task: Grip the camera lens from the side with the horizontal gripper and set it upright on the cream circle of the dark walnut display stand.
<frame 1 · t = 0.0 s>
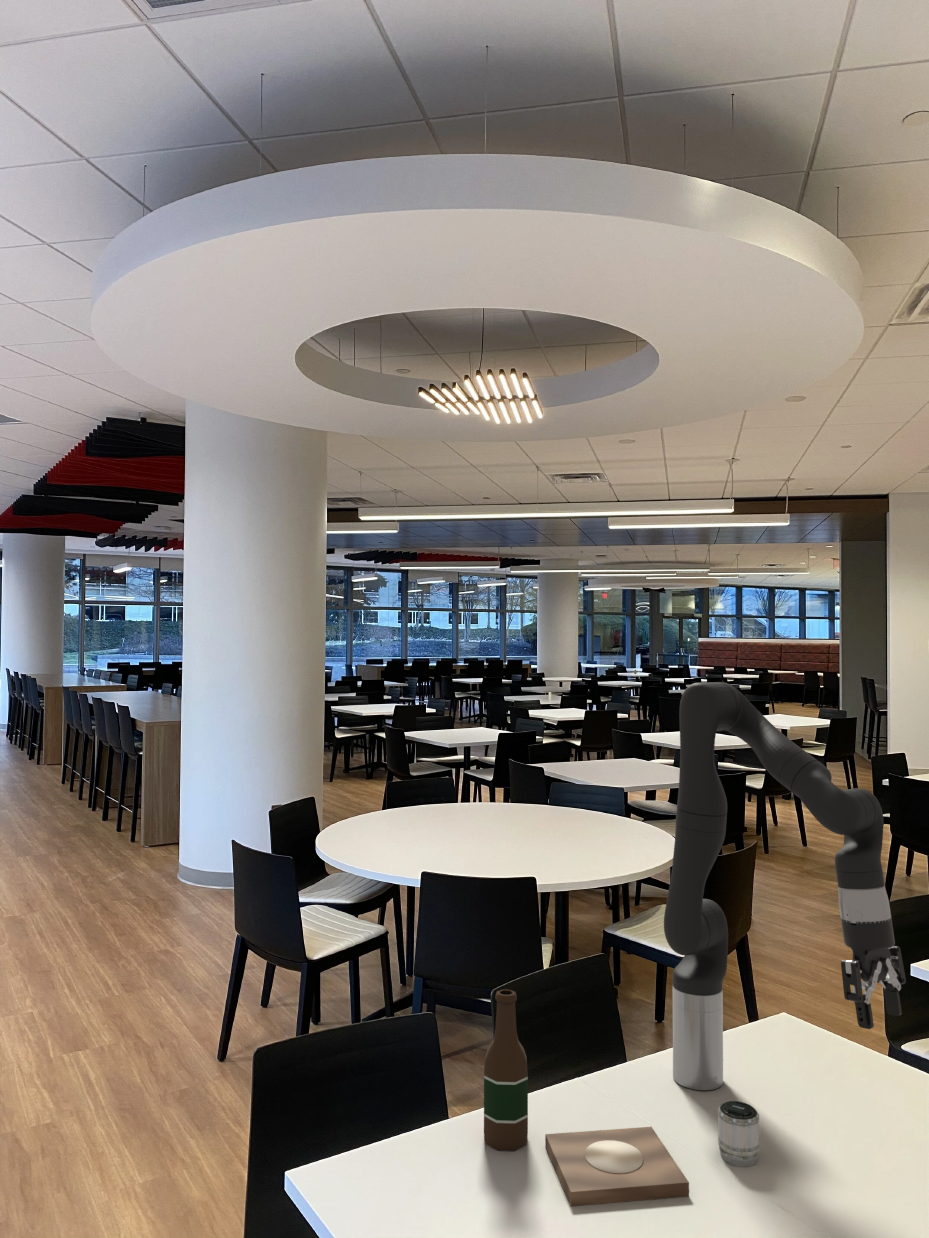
hand: (880, 1021, 142), 22 cm above the table, tool pointing down, fingers open, 8 cm apart
camera lens: (738, 1158, 144), on the table
display stand: (613, 1170, 140), on the table
beer bottle: (505, 1140, 148), on the table
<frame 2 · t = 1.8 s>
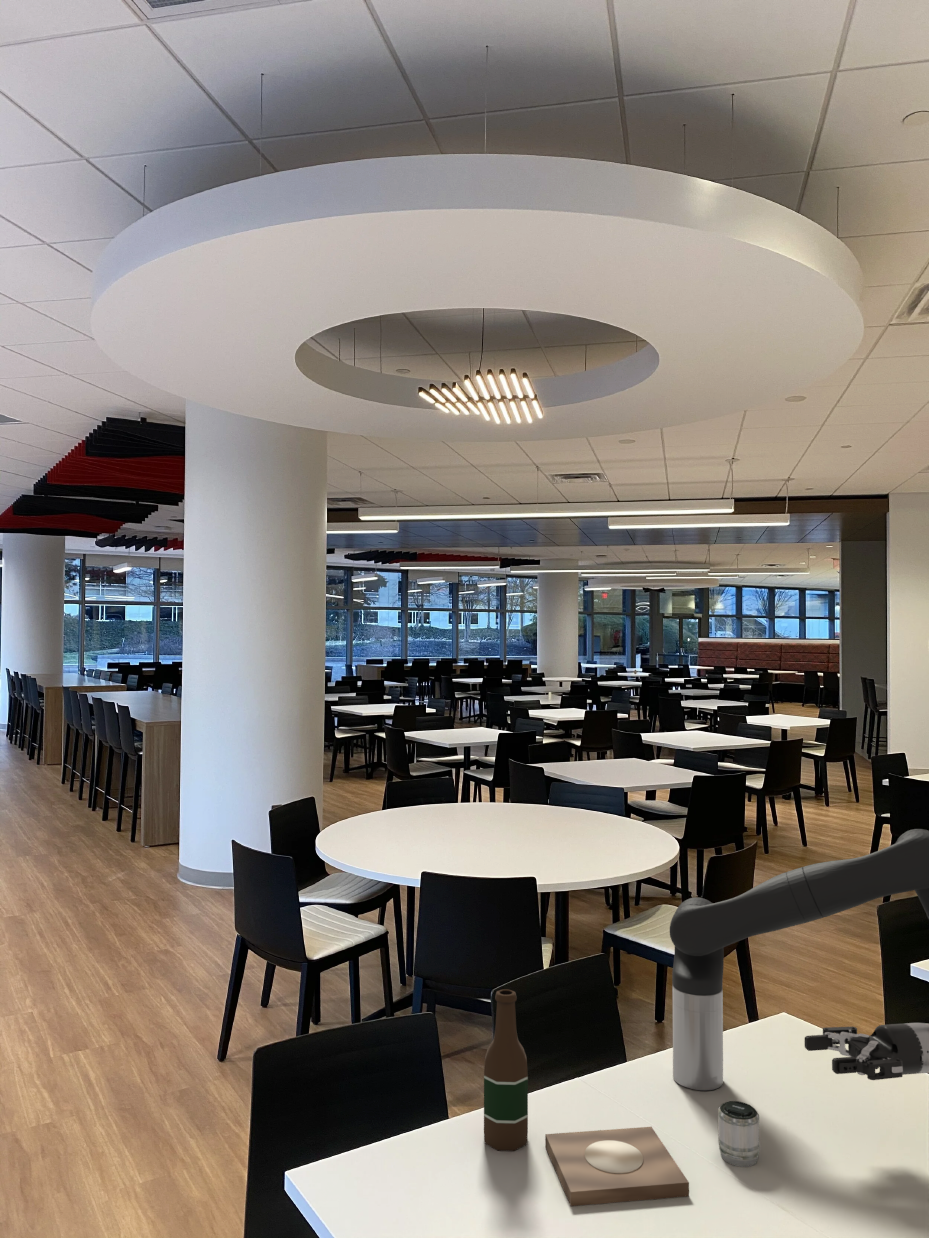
hand: (819, 1054, 146), 15 cm above the table, tool horizontal, fingers open, 8 cm apart
nothing on the table moved.
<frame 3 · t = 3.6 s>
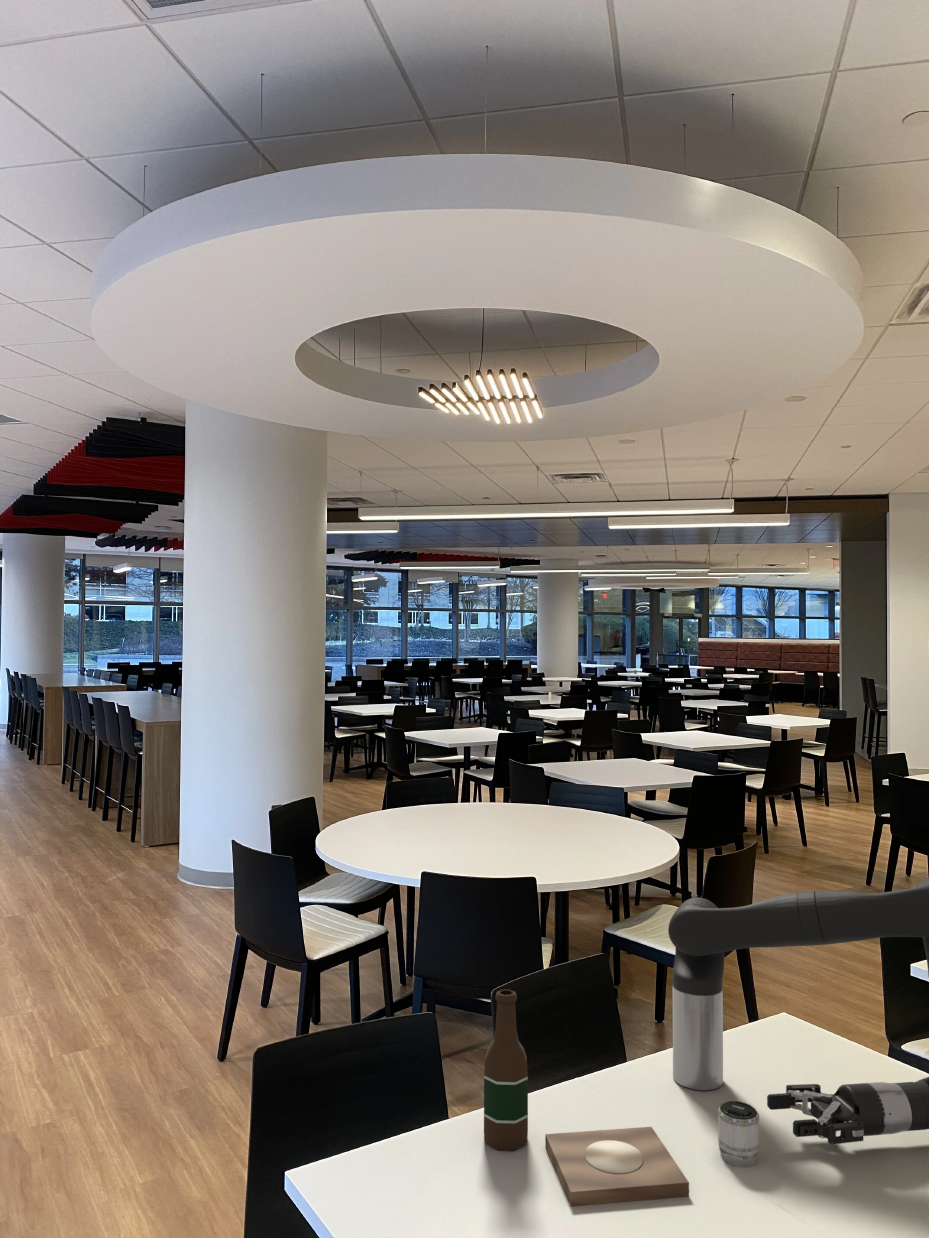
hand: (780, 1115, 145), 6 cm above the table, tool horizontal, fingers open, 8 cm apart
nothing on the table moved.
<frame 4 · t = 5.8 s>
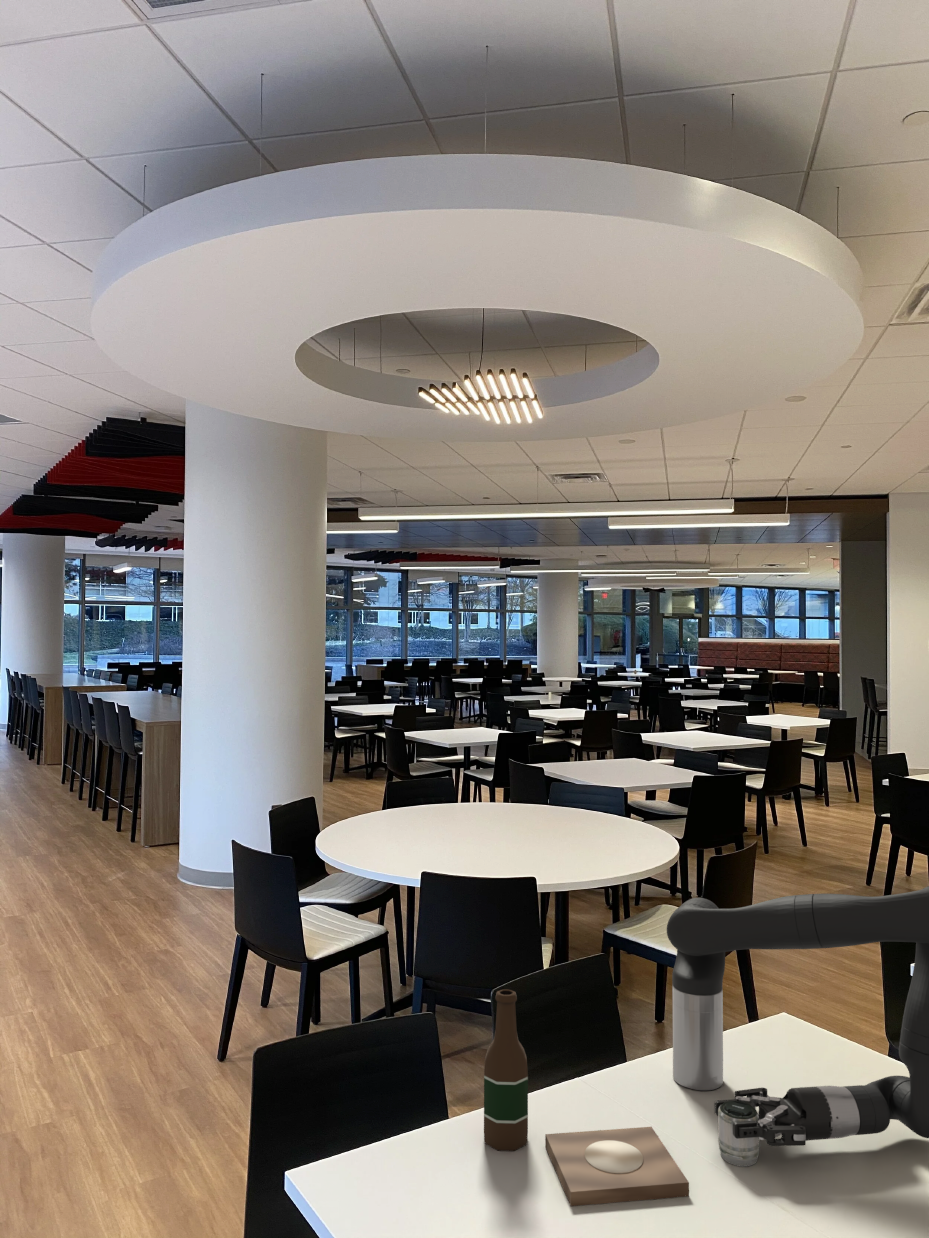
hand: (724, 1119, 144), 6 cm above the table, tool horizontal, fingers closed on camera lens, 6 cm apart
camera lens: (738, 1158, 144), on the table, touching gripper
everything else where it was.
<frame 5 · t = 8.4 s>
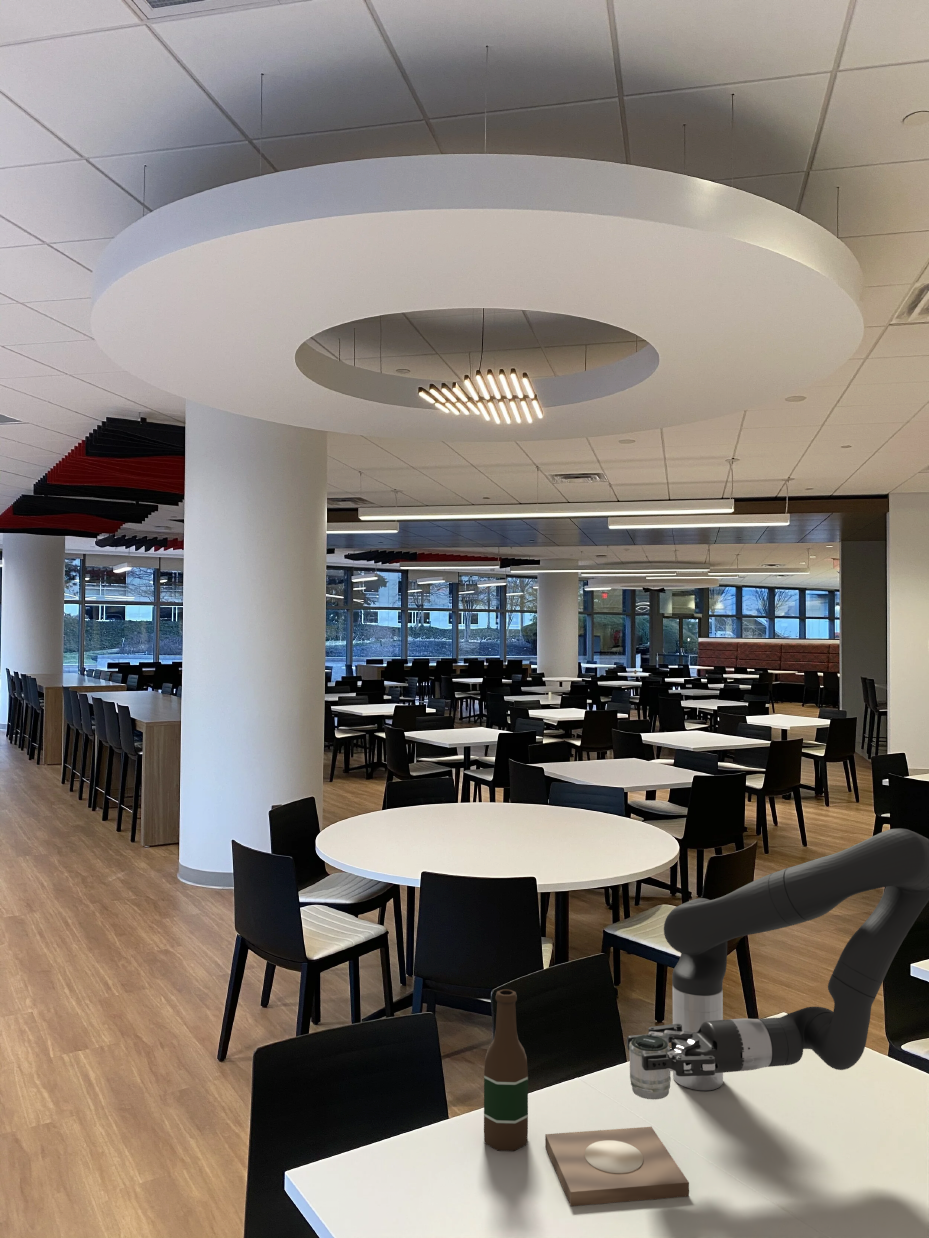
hand: (635, 1052, 141), 18 cm above the table, tool horizontal, fingers closed on camera lens, 6 cm apart
camera lens: (650, 1092, 141), point 12 cm above the table, touching gripper
everything else where it was.
when the fingers open (9 cm above the table, at t = 11.0 s): camera lens drops 1 cm, resting on display stand.
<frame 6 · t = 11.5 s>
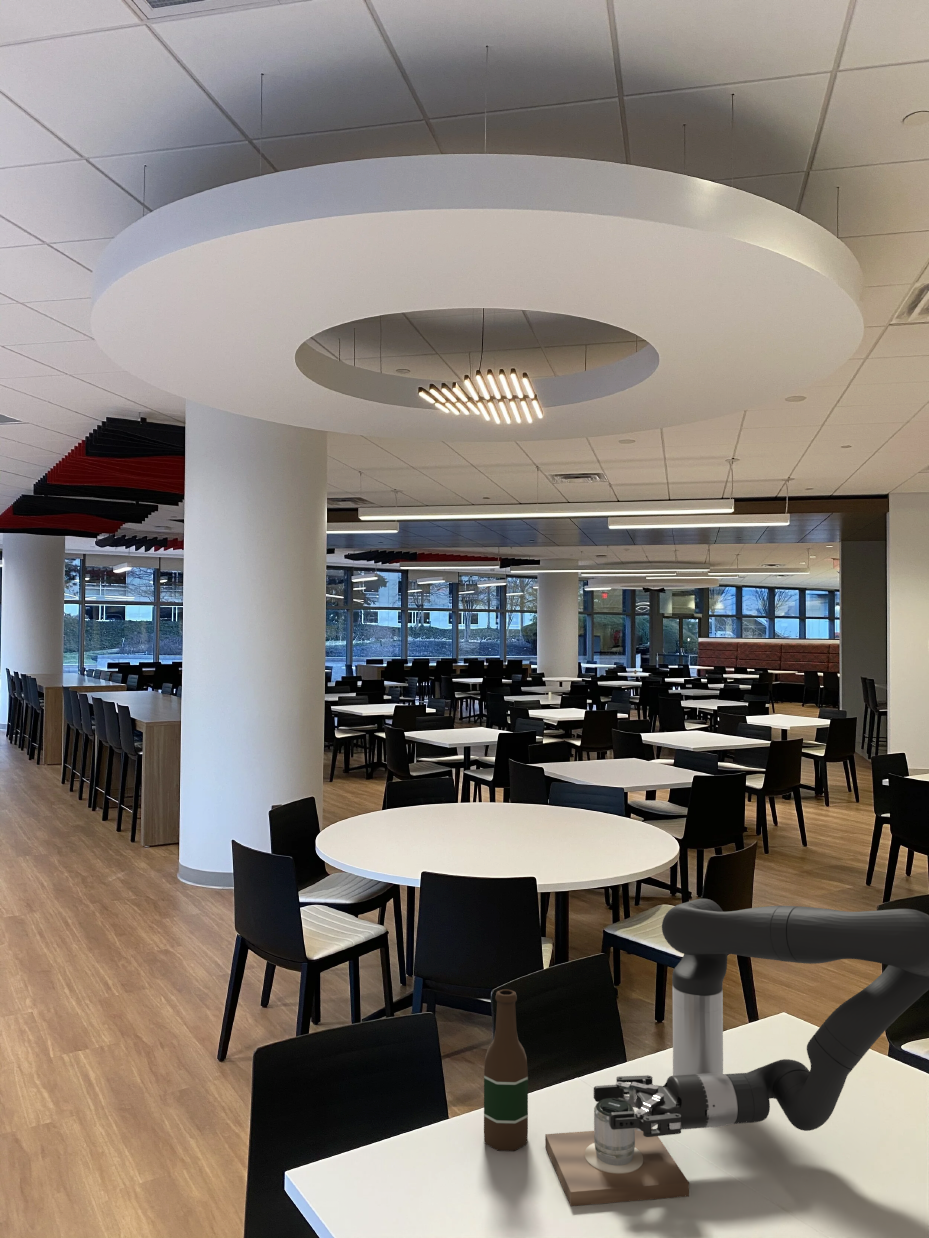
hand: (601, 1107, 140), 10 cm above the table, tool horizontal, fingers open, 8 cm apart
camera lens: (614, 1156, 140), point 2 cm above the table, touching display stand
everything else where it was.
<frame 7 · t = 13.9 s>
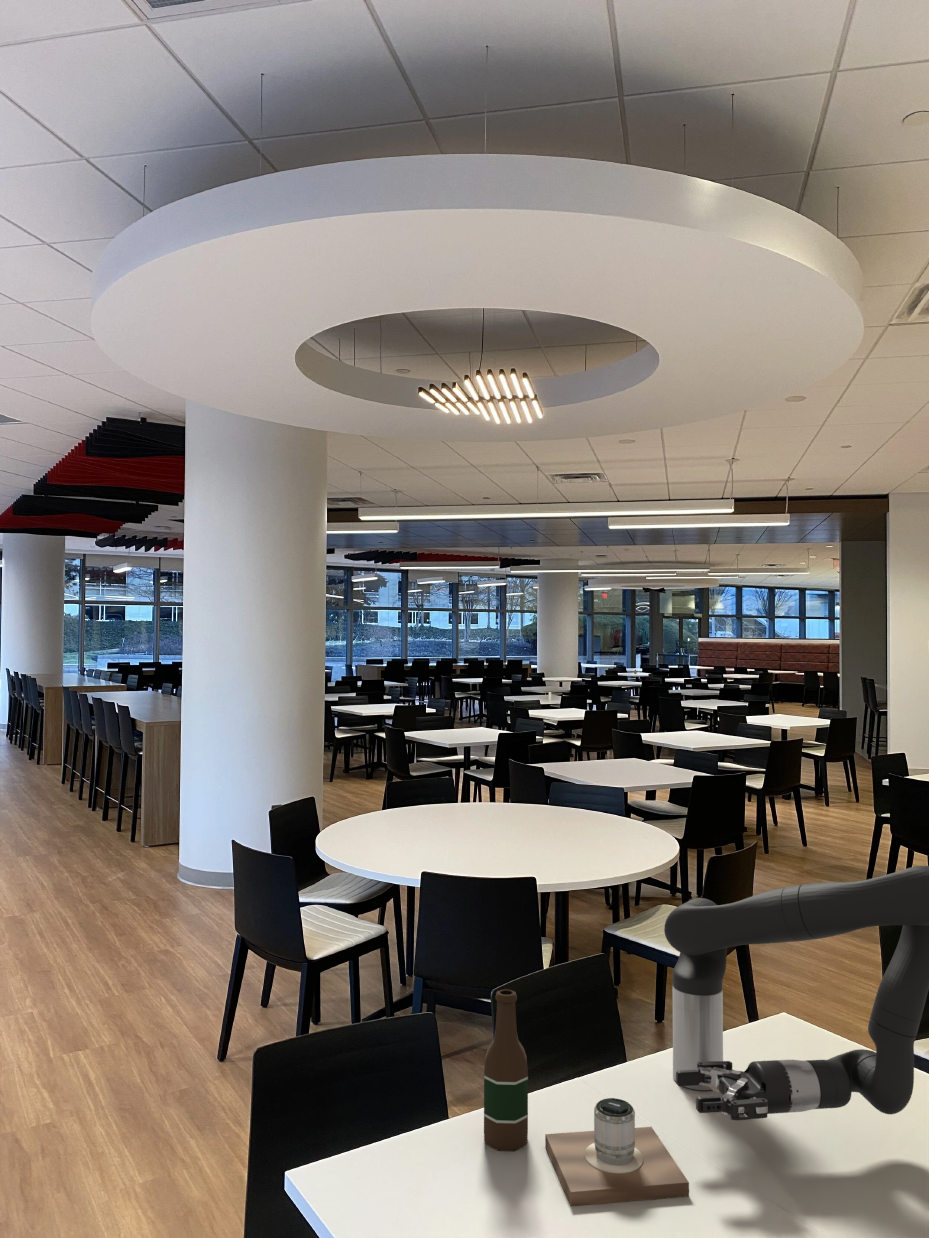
hand: (686, 1091, 142), 11 cm above the table, tool horizontal, fingers open, 8 cm apart
nothing on the table moved.
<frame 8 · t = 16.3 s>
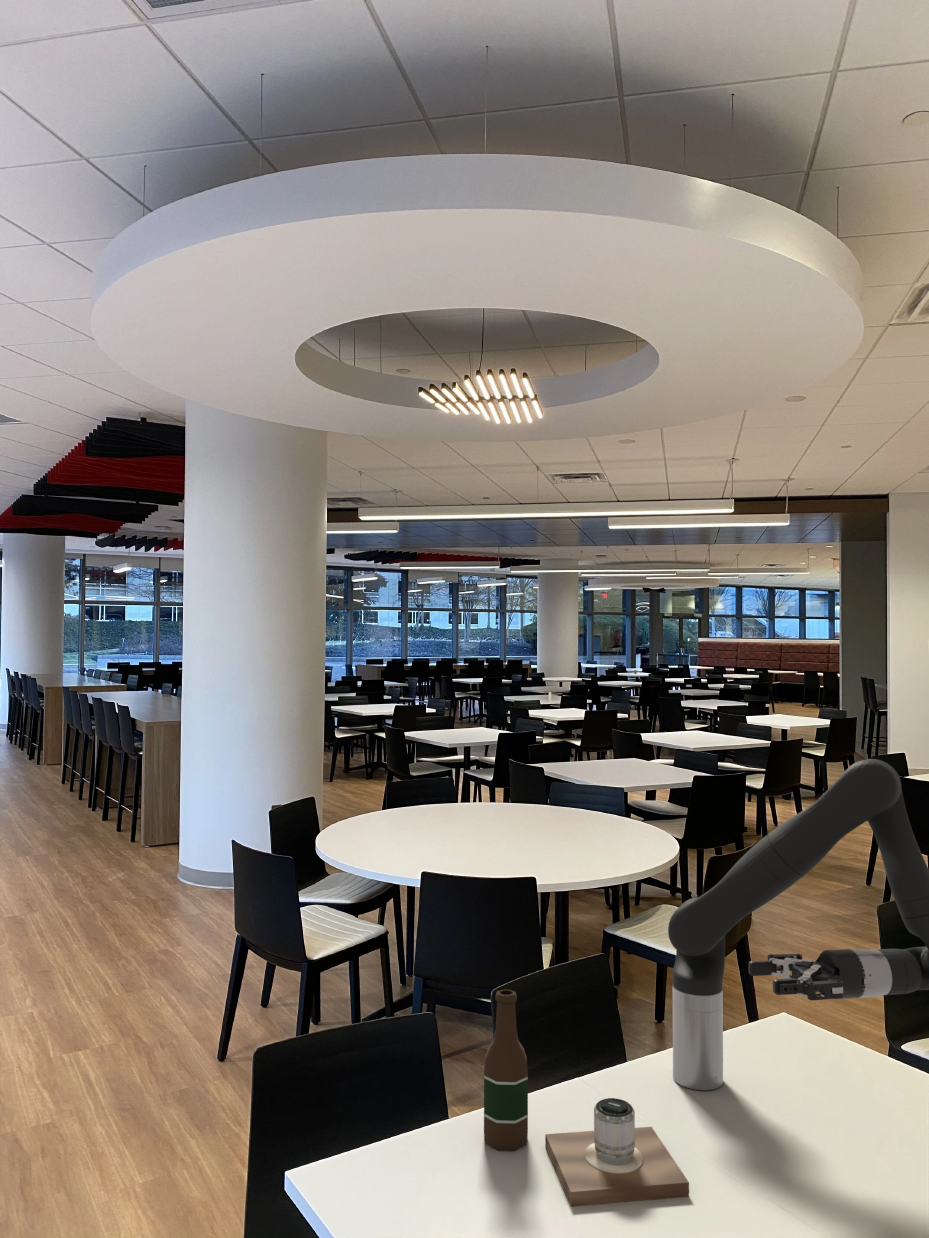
hand: (761, 977, 145), 28 cm above the table, tool horizontal, fingers open, 8 cm apart
nothing on the table moved.
at the end: camera lens inside the target area on the display stand (0.1 cm from its centre), point 2.0 cm above the display stand's base; camera lens tilted 0°; the gripper is holding nothing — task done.
